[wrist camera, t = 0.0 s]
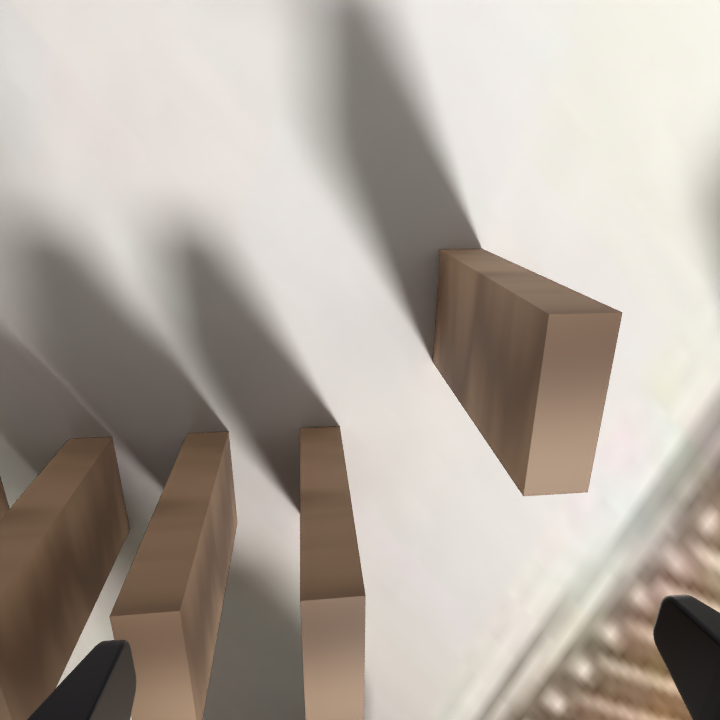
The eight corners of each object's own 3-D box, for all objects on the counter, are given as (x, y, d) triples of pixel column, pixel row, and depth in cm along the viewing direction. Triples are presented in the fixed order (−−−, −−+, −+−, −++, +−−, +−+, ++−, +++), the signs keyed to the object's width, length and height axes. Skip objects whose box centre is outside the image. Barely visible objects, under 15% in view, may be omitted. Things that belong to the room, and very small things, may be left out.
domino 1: (129, 530, 24) (24, 755, 15) (89, 532, 24) (-43, 763, 15) (112, 436, 23) (-20, 626, 13) (68, 438, 22) (-96, 633, 13)
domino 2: (237, 523, 25) (199, 737, 15) (199, 525, 25) (137, 743, 15) (228, 431, 23) (179, 611, 14) (187, 433, 23) (109, 616, 14)
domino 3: (340, 516, 25) (363, 720, 16) (303, 518, 25) (305, 725, 16) (339, 426, 24) (365, 595, 14) (300, 428, 23) (300, 600, 14)
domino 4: (472, 361, 23) (587, 492, 14) (432, 362, 23) (523, 496, 14) (482, 248, 21) (622, 312, 12) (439, 249, 21) (549, 314, 12)
